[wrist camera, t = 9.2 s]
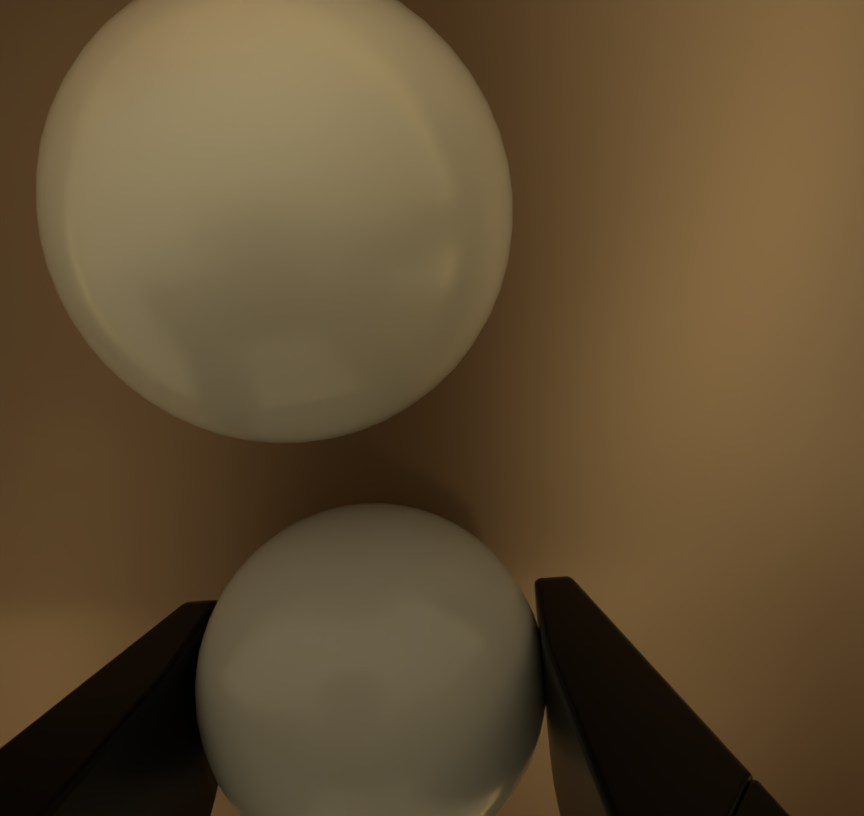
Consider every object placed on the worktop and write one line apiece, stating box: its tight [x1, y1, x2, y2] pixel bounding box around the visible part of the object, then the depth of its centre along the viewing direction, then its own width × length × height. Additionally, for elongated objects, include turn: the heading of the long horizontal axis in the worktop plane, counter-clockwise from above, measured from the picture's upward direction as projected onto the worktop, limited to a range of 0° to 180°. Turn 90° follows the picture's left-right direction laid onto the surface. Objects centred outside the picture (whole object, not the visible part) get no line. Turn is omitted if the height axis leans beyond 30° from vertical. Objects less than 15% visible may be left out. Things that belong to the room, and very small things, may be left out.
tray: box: [0, 0, 864, 816], centre depth 10 cm, size 17×16×2 cm
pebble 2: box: [195, 503, 546, 816], centre depth 8 cm, size 4×4×4 cm
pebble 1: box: [36, 0, 513, 443], centre depth 6 cm, size 4×4×4 cm
